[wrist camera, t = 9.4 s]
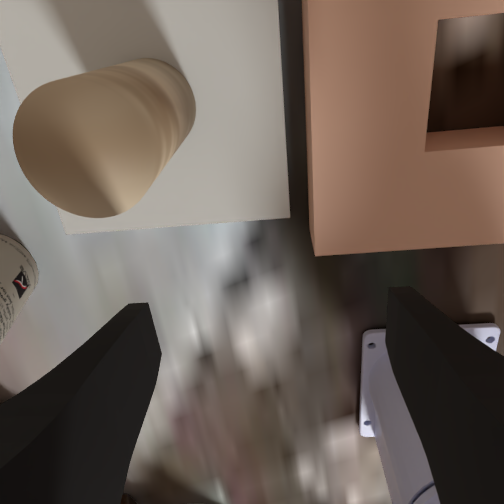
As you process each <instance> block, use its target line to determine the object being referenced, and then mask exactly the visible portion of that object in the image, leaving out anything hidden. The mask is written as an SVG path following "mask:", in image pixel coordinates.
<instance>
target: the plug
mask: <svg viewBox="0 0 504 504" xmlns="http://www.w3.org/2000/svg"><path fill="white" fill-rule="evenodd" d="M195 116H196V102H195V98H194V94H193V91H192V89H191V87H190V85H189V83H188V82H187V80H186V79H185V77H184V76H183V75H182V74H181V73H180V72H179V71H178V70H177V69H176V68H174V67H173V66H172V65H170V64H168V63H166V62H164V61H161V60H158V59H153V58H141V59H136V60H132V61H128V62H124V63H120V64H116V65H113V66H109V67H105V68H101V69H97V70H93V71H89V72H86V73H82V74H78V75H74V76H70V77H66V78H62V79H58V80H55V81H51V82H48V83H46V84H43V85H41V86H40V87H38V88H36V89H35V90H34V91H32V92H31V93H30V94H29V95H28V96H27V97H26V98H25V99H24V100H23V102H22V104H21V105H20V107H19V109H18V111H17V114H16V116H15V120H14V125H13V144H14V150H15V154H16V157H17V160H18V163H19V165H20V167H21V169H22V171H23V173H24V174H25V176H26V178H27V179H28V181H29V182H30V183H31V185H32V186H33V187H34V188H35V189H36V190H37V191H38V192H39V193H40V194H41V195H42V196H43V197H44V198H45V199H47V200H48V201H49V202H51V203H52V204H54V205H55V206H57V207H59V208H60V209H62V210H64V211H67V212H69V213H72V214H75V215H78V216H82V217H88V218H107V217H112V216H116V215H119V214H121V213H123V212H126V211H127V210H129V209H131V208H132V207H133V206H134V205H136V204H137V203H138V202H139V201H140V200H141V198H142V197H143V196H144V195H145V193H146V192H147V191H148V189H149V188H150V186H151V185H152V184H153V182H154V181H155V180H156V178H157V177H158V175H159V174H160V173H161V171H162V170H163V169H164V167H165V166H166V164H167V163H168V162H169V160H170V159H171V158H172V156H173V155H174V154H175V152H176V151H177V149H178V148H179V147H180V145H181V144H182V143H183V141H184V140H185V138H186V137H187V136H188V134H189V133H190V131H191V129H192V127H193V125H194V121H195Z"/></svg>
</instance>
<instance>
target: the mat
mask: <svg viewBox="0 0 504 504" xmlns="http://www.w3.org/2000/svg"><path fill="white" fill-rule="evenodd" d="M0 47H1V50H2V53H3V56H4V59H5V61H6V64H7V67H8V70H9V73H10V76H11V79H12V81H13V84H14V87H15V90H16V93H17V96H18V98H19V101H20V104H22V102H23V100H24V99H25V98H26V97H27V96H28V95H29V94H30V93H31V92H32V91H34V90H35V89H36V88H38V87H40V86H41V85H43V84H46V83H48V82H51V81H55V80H58V79H62V78H66V77H70V76H74V75H78V74H82V73H86V72H89V71H93V70H97V69H101V68H105V67H109V66H113V65H116V64H120V63H124V62H128V61H132V60H136V59H141V58H153V59H158V60H161V61H164V62H166V63H168V64H170V65H172V66H173V67H174V68H176V69H177V70H178V71H179V72H180V73H181V74H182V75H183V76H184V77H185V79H186V80H187V82H188V83H189V85H190V87H191V89H192V91H193V94H194V98H195V102H196V116H195V121H194V125H193V127H192V129H191V131H190V133H189V134H188V136H187V137H186V138H185V140H184V141H183V143H182V144H181V145H180V147H179V148H178V149H177V151H176V152H175V154H174V155H173V156H172V158H171V159H170V160H169V162H168V163H167V164H166V166H165V167H164V169H163V170H162V171H161V173H160V174H159V175H158V177H157V178H156V180H155V181H154V182H153V184H152V185H151V186H150V188H149V189H148V191H147V192H146V193H145V195H144V196H143V197H142V198H141V200H140V201H139V202H138V203H137V204H136V205H134V206H133V207H132V208H131V209H129V210H127V211H126V212H123V213H121V214H119V215H116V216H112V217H107V218H88V217H82V216H78V215H75V214H72V213H69V212H67V211H64V210H62V209H60V208H59V207H57V206H56V207H57V210H58V213H59V215H60V218H61V221H62V224H63V227H64V230H65V233H66V235H69V234H82V233H95V232H108V231H122V230H135V229H148V228H161V227H174V226H188V225H201V224H214V223H227V222H240V221H253V220H267V219H280V218H290V204H289V186H288V169H287V152H286V134H285V117H284V100H283V82H282V65H281V48H280V30H279V13H278V0H0Z"/></svg>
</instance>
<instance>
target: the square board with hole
mask: <svg viewBox="0 0 504 504" xmlns="http://www.w3.org/2000/svg"><path fill="white" fill-rule="evenodd" d="M496 13H504V0H302V26H303V56H304V85H305V115H306V144H307V174H308V203H309V229H310V234H311V239H312V244H313V249H314V254H315V256H326V255H341V254H355V253H370V252H384V251H399V250H413V249H428V248H443V247H457V246H472V245H486V244H501V243H504V126H496V127H485V128H474V129H462V130H451V131H440V132H428V133H426V132H427V122H428V113H429V103H430V94H431V84H432V74H433V65H434V55H435V46H436V36H437V26H438V20H441V19H450V18H459V17H469V16H478V15H487V14H496Z"/></svg>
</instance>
